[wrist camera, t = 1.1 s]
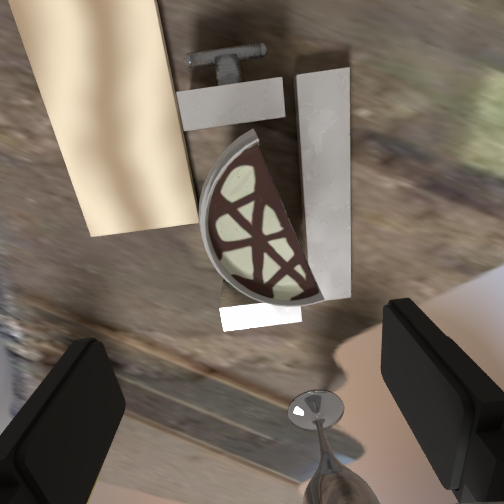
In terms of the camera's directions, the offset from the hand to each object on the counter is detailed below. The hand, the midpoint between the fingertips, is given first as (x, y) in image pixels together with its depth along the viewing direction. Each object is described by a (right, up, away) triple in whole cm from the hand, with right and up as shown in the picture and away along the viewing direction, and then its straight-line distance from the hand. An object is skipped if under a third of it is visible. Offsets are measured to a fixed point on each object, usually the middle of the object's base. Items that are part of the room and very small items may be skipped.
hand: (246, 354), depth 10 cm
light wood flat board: (-11, +14, +15) cm, 23 cm away
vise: (+2, +9, +18) cm, 20 cm away
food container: (0, +8, +18) cm, 20 cm away
